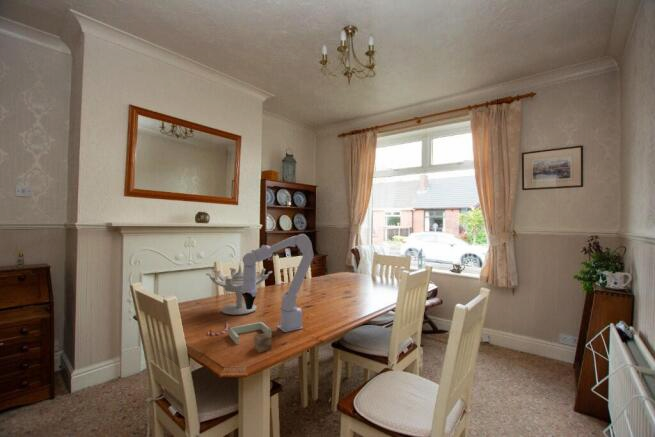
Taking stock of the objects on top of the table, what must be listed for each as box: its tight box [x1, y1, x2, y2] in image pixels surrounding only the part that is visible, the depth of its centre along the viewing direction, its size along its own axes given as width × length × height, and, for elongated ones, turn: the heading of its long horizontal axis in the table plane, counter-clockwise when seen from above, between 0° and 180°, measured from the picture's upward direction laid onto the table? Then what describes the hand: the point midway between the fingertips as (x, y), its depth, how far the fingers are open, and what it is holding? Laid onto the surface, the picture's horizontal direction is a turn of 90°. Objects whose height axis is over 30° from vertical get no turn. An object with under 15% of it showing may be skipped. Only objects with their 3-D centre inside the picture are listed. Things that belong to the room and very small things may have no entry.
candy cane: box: [206, 322, 230, 337], centre depth 134 cm, size 8×1×15 cm
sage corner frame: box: [228, 321, 273, 345], centre depth 127 cm, size 15×12×3 cm
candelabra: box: [205, 263, 273, 316], centre depth 162 cm, size 34×35×27 cm
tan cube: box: [253, 332, 272, 353], centre depth 114 cm, size 5×5×5 cm
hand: (249, 308), depth 134 cm, fingers closed
